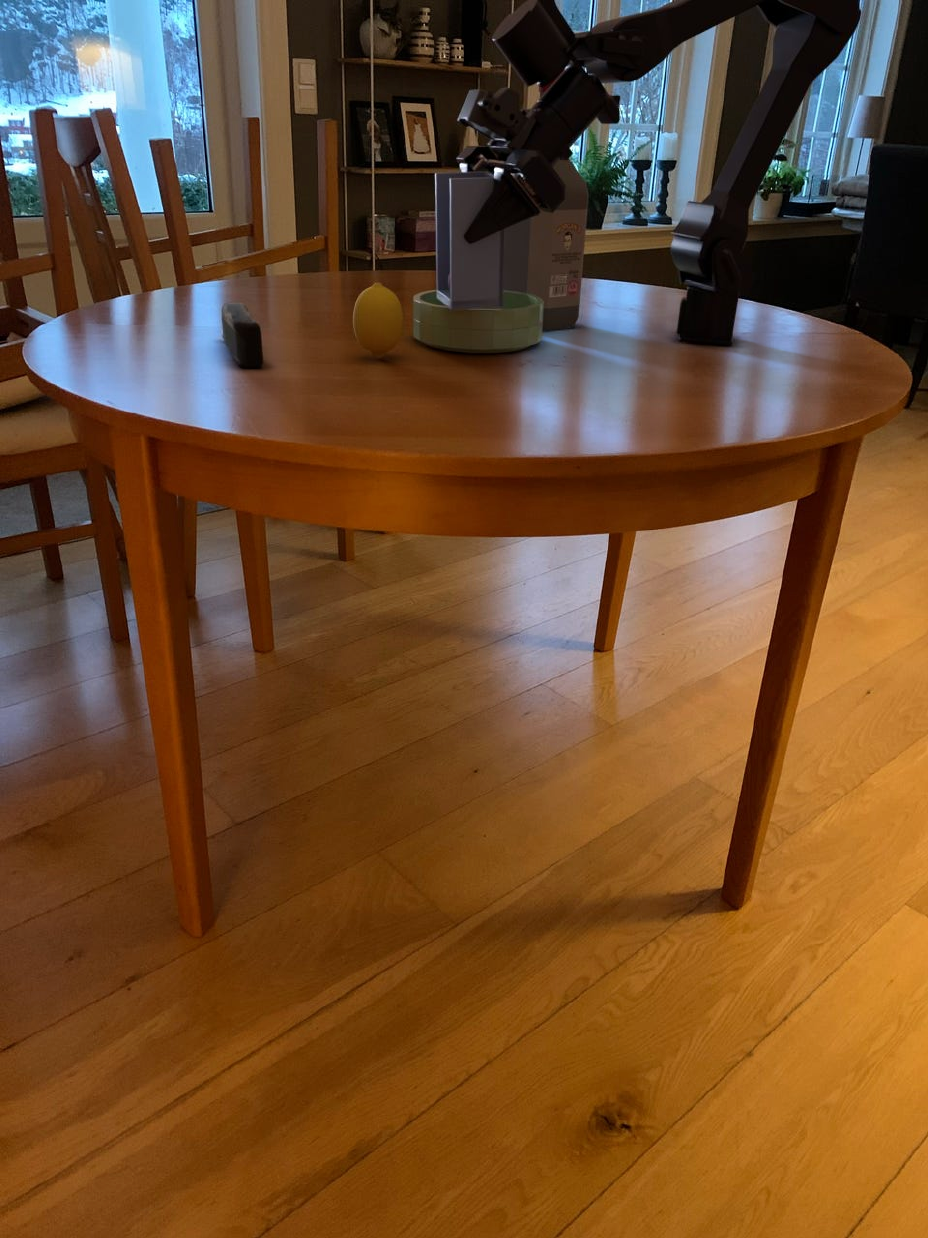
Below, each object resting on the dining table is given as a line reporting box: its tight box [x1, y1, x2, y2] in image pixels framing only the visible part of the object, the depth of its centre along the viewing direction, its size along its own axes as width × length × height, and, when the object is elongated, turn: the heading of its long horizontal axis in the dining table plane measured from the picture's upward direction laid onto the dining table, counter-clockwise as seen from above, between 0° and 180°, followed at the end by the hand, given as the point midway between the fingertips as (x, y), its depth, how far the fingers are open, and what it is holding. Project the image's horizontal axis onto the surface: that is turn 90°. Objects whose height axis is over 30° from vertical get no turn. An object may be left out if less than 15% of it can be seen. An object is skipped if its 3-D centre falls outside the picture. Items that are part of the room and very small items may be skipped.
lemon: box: [352, 282, 404, 359], centre depth 99 cm, size 6×6×8 cm
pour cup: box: [434, 171, 505, 310], centre depth 98 cm, size 6×6×13 cm
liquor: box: [503, 70, 590, 332], centre depth 113 cm, size 9×9×30 cm
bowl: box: [412, 289, 544, 354], centre depth 109 cm, size 16×16×5 cm
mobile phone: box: [221, 301, 264, 368], centre depth 99 cm, size 5×3×15 cm
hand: (455, 236), depth 98 cm, fingers closed on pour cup, 7 cm apart
